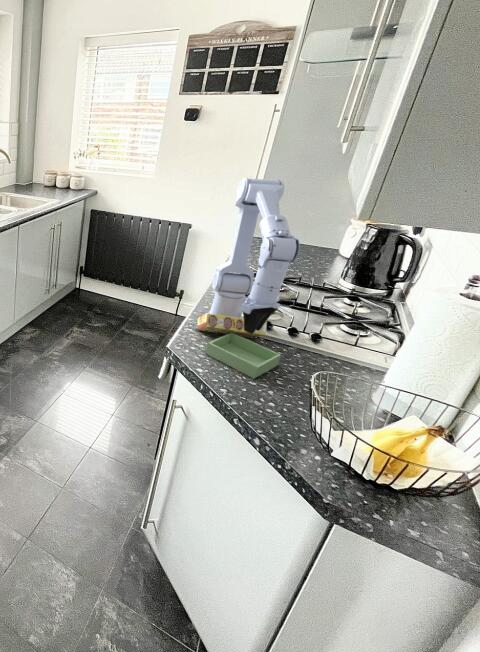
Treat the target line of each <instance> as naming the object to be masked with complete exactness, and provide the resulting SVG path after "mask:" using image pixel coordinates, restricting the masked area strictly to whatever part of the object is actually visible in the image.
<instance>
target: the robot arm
mask: <svg viewBox="0 0 480 652" xmlns="http://www.w3.org/2000/svg"><path fill="white" fill-rule="evenodd" d="M284 192H285V183H284V181H283V180H282V179H266V178H265V179H264V178H263V179H261V178H248V177H243V178H242V180H241V181H240V182H239V184H238V185H237V189H236V194H235V197H234V206H236V207H237V208H238V210H239V211H238V216H237V221H236V226H235V231H234V235H233V240H232V245H231V249H230V253H229V258H228V261H226V262H224V263H222V264H220V265H218V266H217V267H216V269H215V273H214V274H213V277H212V282H211V287H212V289H213V291H214V292H215V293H214V297H213V300H212V304H211V308H210V311H208V312H206V313H203V315H205V314H215V315H222V316H230V317H237V318H244V331H246V332H249V333H251V334H252V333H254V332H255V330H258V331H259V330H260V329H261V328H262V326H263V325H264V324H265V322H266V321H267V322H268V319H269V318H270V317H271V316H272V315H273V314H275V312H276V311H278V310H279V308H281V304H280V303H278V302H280V299H281V297H282V294H281V293H280V291H281V289H282V286H283V283H284V280H285V277H286V275H287V271H288V269H289V266H290V263H294V262H295V261H296V260H297V258H298V257H299V254H300V249H301V244H300V240H299V238H297V237H295V236H294V235H292V234H291V230H290V227H289V223H288V220H287V217H285V216H284V215H281V211H280V203H279V202H280V200H281V199H282V198H283V195H284ZM259 214H260V215H261V218H262V219H261V220H260V222H259V224H258V225H259V226H258V227H259V230H260V231H259V232H260V235H261V240H262V243H261V244H260V249H259V257H258V262H257V263H258V264H259V265H258V268H257V272H256V275H255V272H254V270H253V269H252V268H251V267H250V266H249V265H248V260H249V257H250V253H251V248H252V243H253V240H254V235H255V231H256V226H257V221H258V218H259ZM246 295H247V297H246Z"/></svg>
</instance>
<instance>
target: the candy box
mask: <svg viewBox="0 0 480 652" xmlns="http://www.w3.org/2000/svg"><path fill="white" fill-rule="evenodd" d="M204 314H205V313H204ZM204 314H203V315H201V316H199V317H198V319H197V331H202V332H208V333H216V334H224V335H226V334H229V333H231V332H232V333H234V334H237V335H239V336H241V337H244V338H245V337H246V338H252V339H253V338H258V337H264V336H267V325H268V320H267V321H266V322H265V324H264V325H263V326H262V328H261V329H260V330H259V331H258V330H255V332H254V333H252V334H251V333H249V332H246V331H244V318H237V317H230V316H222V315H215V314H205V315H204Z"/></svg>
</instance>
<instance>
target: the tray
mask: <svg viewBox="0 0 480 652" xmlns="http://www.w3.org/2000/svg"><path fill="white" fill-rule="evenodd" d="M204 354H206V355H208V356H209V357H211V358H213V359H216V360H218V361H219V362H221V363H222V364H225V365H226V366H229V367H231V368H232V369H235V370H237V371H238V372H240V373H243V374H244V375H245V376H248V377H250V378H251V379H256V378H258V377H259V376H262V375H263V374H265V373H267V372H269V371H270V370H273V369H274V368H276V367H277V366H278V364H279V362H280V360H281V357H282V354H281V353H278V352H276V351H274V350H272V349H270V348H268V347H265V346H263V345H261V344H259V343H256V342H254V341H252V340H250V339H248V338H245V337H244V336H239V335H237V334H234V333H232V332H231V333H229V334H224V335H222V336H220V337H218V338H215V339H213V340H211V341H209V342H207V345H206V349H205V353H204Z"/></svg>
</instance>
